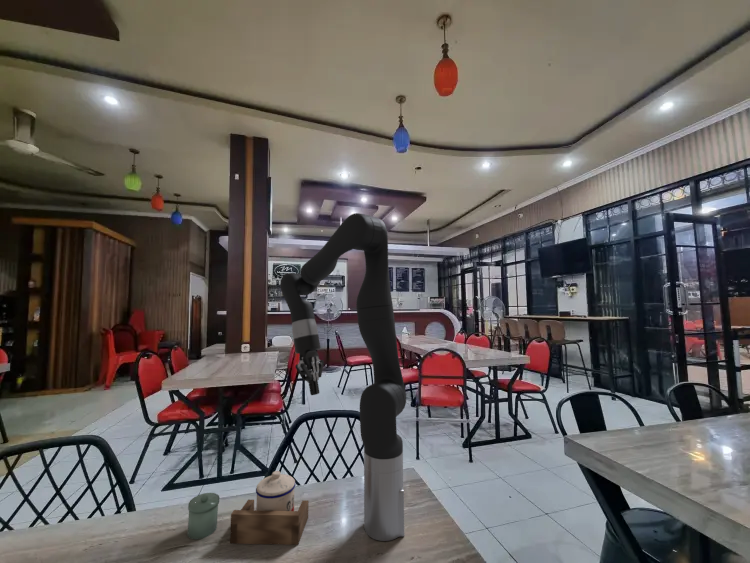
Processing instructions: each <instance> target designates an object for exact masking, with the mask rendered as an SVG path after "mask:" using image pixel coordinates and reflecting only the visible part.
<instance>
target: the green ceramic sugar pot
mask: <svg viewBox="0 0 750 563" xmlns="http://www.w3.org/2000/svg"><path fill="white" fill-rule="evenodd" d="M195 502H196V503H195ZM219 503H220V495H219V494H217V493H215V492H206V493H205V492H204V493H201V494H198V495H196V496H194V497H193V498H191V499H190V500H189V501H188V507H187V510H188V518H187V534H186V535H187V538H189V539H192V540H201V539H205V538H208V537H209V536H210V535H212V534H213V533H214V532H215V531H216V530H217V528H218V527H217V526H218V516H219V514H218V512H219Z"/></svg>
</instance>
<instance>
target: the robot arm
mask: <svg viewBox="0 0 750 563" xmlns="http://www.w3.org/2000/svg"><path fill="white" fill-rule="evenodd" d="M388 237H389V236H388V230H387V225H386V224H385V222H384V221H383V220H382V219H380V218H379V217H377V216H373V215H368V214H365V213H359V212H357V213H356V212H355V213H351V214H350V215H349V216H347V217H346V218H345V219H344V221H342V222H341V224H340V225H339V226H338V228H336V230H335V231H334V232H333V234H331V236H330V238H329V239H328V240H327V241H326V242H325V244H324V245H323V247H322V248H321V249H320V250H319V251H318V252H317V253H316V254H314V255H313V256H312V257H311V258H310V259H309V260H307V262H305V263H304V264H303V265H302V266H301V268H300V270H299V271H300V272H299V273H298V272H297V273H296V272H288V273H285V274H283V276H282V277H281V279H280V284H279V285H280V286H279V287H280V292H281V294H282V296H283V298H284V300H285V303H286V304H287V307H288V310H289V313H290V319H291V331H292V339H293V345H294V352H295V354H299V359H298V360H299V362H298V364H295V366H294V367H295V369H296V371H297V372H298V374H299V375H300V377H301V379H302V380H303V381H304V382H307V383H308V386H309V393H310V395H311V396H317V395H319V394H320V388H319V386H320V385H319V379H320V378H322V375H323V369H324V365H325V361H324V359H320V355H319V353H318V350H320V349H321V341H320V336H319V332H318V325H317V322H316V317H315V312H314V306H313V304H312V302H310V301H307V300H304V299H303V298H302V297H301V296H309V295H311V294H313V293H314V292H315V290H316V288H317V287H318V285H319V283H320V282H321V281H323V280H325V279H326V278H327V277H329V275H331V273H333V272H334V270H335V269H336V267H337V265H338V261H339V258H340V257H342V255H344V254H345V253H348V252H350V251H352V250H356V251H363V253H364V261H365V272H364V273H365V274H364V278H363V281H362V283H361V286H360V289H359V291H358V294H357V296H356V301H355V302H356V303H355V304H356V318H357V325H358V330H359V333H360V336H361V338H362V340H363V342H364V345H365V346H366V349H367V351H368V353H369V355H370V359H371V361H372V362H371V363H372V368H373V383H372V384H370V385H368V386H367V387H366V388H364V389H363V391H362V393H361V396H360V399H359V425H360V426H359V427H360V428H359V429H360V439H361V441H362V444H363V528H364V531H365V534H366V535H367V536H369V538H372V540H376V541H379V542H389V541H393V540H395V539H397V538H399V537H405V493H404V492H405V490H404V448H403V447H404V442H403V439H402V437H401V436H400V435H399V434H397V430H398V429H397V417H398V416H399V415H400V414H401V413H403V411H404V409H405V407H406V404H407V392H406V391H407V390H406V387H405V382H404V379H403V375H402V369H401V363H400V359H399V352H398V351H399V348H398V341H397V331H396V323H395V322H396V321H395V314H394V313H395V312H394V305H393V299H392V290H391V281H390V280H391V279H390V272H389V271H390V269H389V240H388V239H389V238H388Z"/></svg>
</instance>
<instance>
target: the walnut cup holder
mask: <svg viewBox="0 0 750 563" xmlns="http://www.w3.org/2000/svg"><path fill="white" fill-rule="evenodd" d="M309 502H310V500H301V503H300V505H299V508H298V510H294V511H260V510H256V509H255V499H247V500H246V502H245V504H244V505H243V506H242V508H241V509H234V510H233V511H232V512H231V514H230V533H229V534H230V535H229V536H230V537H229V544H237V545H239V544H240V545H241V544H245V545H249V544H250V545H283V546H284V545H287V546H288V545H290V546H292V545H294V546H296V545H297V546H298V545H299V544H300V541H301V538H302V536H303V533H304V531H305V528H306V525H307V523H308V519H309Z"/></svg>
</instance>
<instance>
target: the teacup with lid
mask: <svg viewBox="0 0 750 563" xmlns="http://www.w3.org/2000/svg"><path fill="white" fill-rule="evenodd" d="M295 488H296V480H295V478H294V477H292V476H291V475H289V474H284V473H281V471H280V470H275V471H272V473H271V475H269V476H266V477H265V478H263V479H261V480H260V481H259V482H258V483H257V485H256V487H255V493H256V509H255V510H260V511H295Z"/></svg>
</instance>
